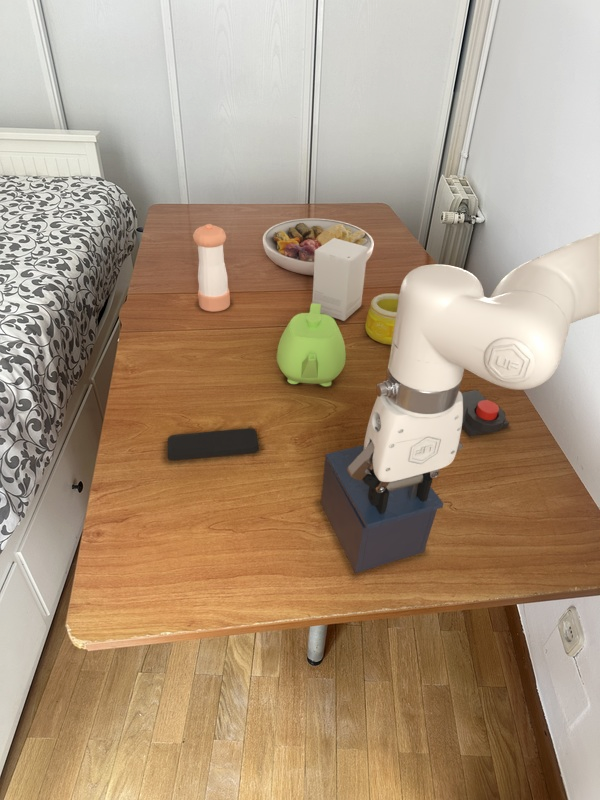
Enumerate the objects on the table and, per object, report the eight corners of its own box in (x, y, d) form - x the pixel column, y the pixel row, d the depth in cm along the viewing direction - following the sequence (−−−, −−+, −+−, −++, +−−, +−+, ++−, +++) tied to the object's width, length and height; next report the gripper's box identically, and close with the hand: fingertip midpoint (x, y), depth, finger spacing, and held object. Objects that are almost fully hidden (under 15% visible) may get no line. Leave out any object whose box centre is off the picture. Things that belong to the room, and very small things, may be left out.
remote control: (256, 434, 93) (167, 440, 90) (256, 427, 92) (166, 432, 89) (259, 454, 89) (167, 461, 87) (259, 447, 88) (166, 453, 86)
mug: (354, 337, 117) (360, 288, 110) (378, 317, 124) (385, 269, 117) (408, 358, 112) (418, 307, 104) (429, 335, 119) (440, 286, 112)
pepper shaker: (204, 314, 123) (196, 232, 111) (195, 299, 128) (187, 220, 116) (234, 308, 125) (230, 228, 113) (224, 294, 130) (220, 216, 118)
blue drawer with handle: (442, 507, 68) (450, 477, 65) (366, 529, 65) (371, 498, 62) (392, 441, 78) (397, 412, 75) (325, 458, 75) (326, 428, 72)
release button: (500, 418, 94) (503, 410, 93) (483, 422, 93) (485, 415, 92) (488, 405, 97) (491, 398, 96) (471, 409, 96) (473, 402, 95)
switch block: (511, 432, 95) (516, 419, 93) (473, 441, 93) (477, 429, 91) (475, 394, 103) (479, 381, 102) (439, 402, 101) (442, 389, 99)
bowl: (277, 229, 162) (277, 203, 157) (376, 241, 158) (379, 214, 153) (250, 273, 139) (249, 244, 134) (365, 287, 135) (369, 258, 130)
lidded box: (424, 552, 75) (438, 507, 69) (355, 573, 72) (363, 528, 66) (383, 487, 84) (392, 442, 78) (320, 503, 81) (325, 458, 75)
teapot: (343, 407, 99) (350, 350, 91) (271, 401, 99) (271, 344, 91) (344, 346, 114) (349, 293, 106) (281, 342, 115) (282, 289, 107)
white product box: (362, 306, 128) (369, 246, 119) (344, 322, 122) (350, 260, 113) (329, 295, 132) (334, 236, 122) (310, 310, 126) (313, 249, 116)
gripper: (363, 424, 51) (348, 541, 62) (512, 389, 56) (472, 503, 67) (332, 379, 56) (323, 494, 68) (470, 351, 61) (440, 462, 73)
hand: (398, 498), depth 67 cm, fingers closed on blue drawer with handle, 5 cm apart
